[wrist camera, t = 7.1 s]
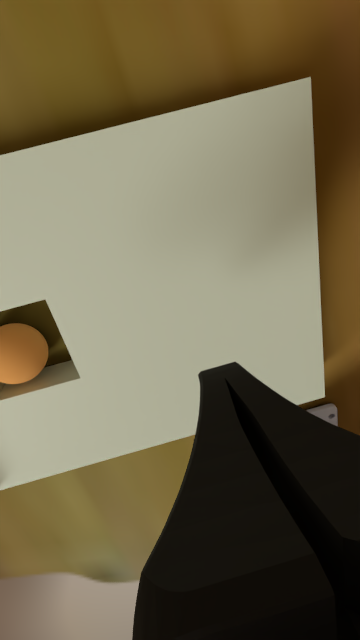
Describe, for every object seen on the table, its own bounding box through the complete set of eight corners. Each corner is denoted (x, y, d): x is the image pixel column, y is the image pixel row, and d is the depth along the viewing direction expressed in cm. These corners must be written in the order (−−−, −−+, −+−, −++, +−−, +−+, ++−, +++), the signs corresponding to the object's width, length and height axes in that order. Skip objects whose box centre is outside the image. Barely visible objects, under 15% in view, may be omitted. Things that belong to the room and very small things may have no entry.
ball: (54, 387, 18) (-13, 404, 17) (55, 355, 21) (-2, 368, 20) (37, 334, 16) (-38, 350, 16) (40, 308, 19) (-23, 320, 18)
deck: (306, 376, 24) (338, 411, 20) (-12, 466, 23) (-37, 520, 20) (285, 90, 16) (329, 66, 13) (-191, 211, 16) (-288, 221, 12)
